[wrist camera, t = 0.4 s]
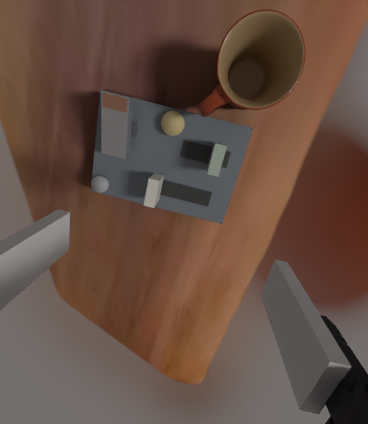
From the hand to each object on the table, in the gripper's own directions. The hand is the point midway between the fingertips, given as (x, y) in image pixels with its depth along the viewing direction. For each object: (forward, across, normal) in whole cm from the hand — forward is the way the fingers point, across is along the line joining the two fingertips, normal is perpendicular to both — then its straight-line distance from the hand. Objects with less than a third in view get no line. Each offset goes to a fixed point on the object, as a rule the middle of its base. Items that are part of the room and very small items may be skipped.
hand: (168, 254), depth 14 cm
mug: (+25, +3, +14) cm, 29 cm away
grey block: (+22, +3, +4) cm, 22 cm away
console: (+25, -4, +2) cm, 26 cm away
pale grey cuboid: (+22, -5, -2) cm, 22 cm away
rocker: (+19, -11, +6) cm, 23 cm away
